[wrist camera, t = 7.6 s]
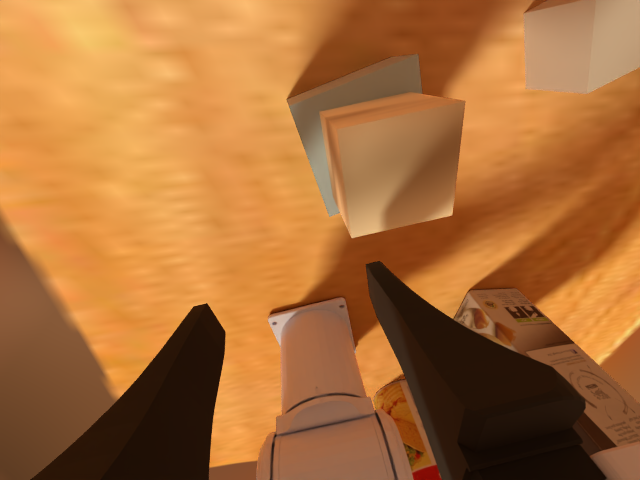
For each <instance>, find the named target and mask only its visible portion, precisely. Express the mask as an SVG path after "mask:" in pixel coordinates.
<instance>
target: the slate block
mask: <svg viewBox="0 0 640 480" xmlns="http://www.w3.org/2000/svg"><path fill="white" fill-rule="evenodd" d="M407 92H414V93H420V94H422V85H421V75H420V65H419V55H418V54H412V55H403V56H394V57H390V58H387V59H385V60H382V61H380V62H377V63H375V64H373V65H370V66H368V67H365V68H363V69H360V70H358V71H355V72H353V73H350V74H348V75H345V76H343V77H341V78H338V79H336V80H333V81H331V82H328V83H326V84H323V85H321V86H318V87H316V88H313V89H311V90H308V91H306V92H304V93H301V94H299V95H296V96H294V97H291V98H289V99H286V100H287V102H288V105H289V108H290V110H291V113H292V116H293V119H294V121H295V124H296V127H297V130H298V132H299V135H300V138H301V140H302V143H303V146H304V149H305V151H306V154H307V157H308V159H309V162H310V165H311V168H312V170H313V173H314V176H315V179H316V181H317V184H318V187H319V189H320V192H321V195H322V198H323V200H324V203H325V206H326V209H327V211H328V214H329V217H330V216H333V215H336V214H338V213H340V212H339V209H338V207H337V205H336V203H335V200H334V198H333V195H332V188H331V182H330V176H329V170H328V164H327V158H326V152H325V145H324V139H323V133H322V127H321V121H320V115H319V111H324V110H329V109H333V108H338V107H342V106H347V105H352V104H356V103H361V102H365V101H370V100H375V99H379V98H384V97H388V96H393V95H398V94H402V93H407Z"/></svg>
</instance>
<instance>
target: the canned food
mask: <svg viewBox="0 0 640 480" xmlns="http://www.w3.org/2000/svg"><path fill="white" fill-rule="evenodd" d="M373 401H374V404H375V408H376V410H377V409H383V410H384V411H385V413H387V414H388V415H389V416H391V417H392V419H393V420H394V422H395V424H396V426H397V429H398V431H399V434H400V436H401V439H402V442H403V445H404V448H405V451H406V454H407V457H408V461H409V464H410V468H411V471H412V475H413V479H414V480H442V479H441V476H440V473H439V470H438V467H437V464H436V461H435V458H434V455H433V453H432V450H431V447H430V444H429V441H428V438H427V435H426V433H425V430H424V427H423V424H422V421H421V419H420V416H419V413H418V410H417V408H416V405H415V402H414V399H413V397H412V394H411V391H410V389H409V386H408V383H407V381H406V380H400V381H396V382H393V383H390V384H388V385H386V386H384V387H383V388H381V389H380V390H379V391H378V392H377V393H376V395H375V396H374V400H373Z"/></svg>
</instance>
